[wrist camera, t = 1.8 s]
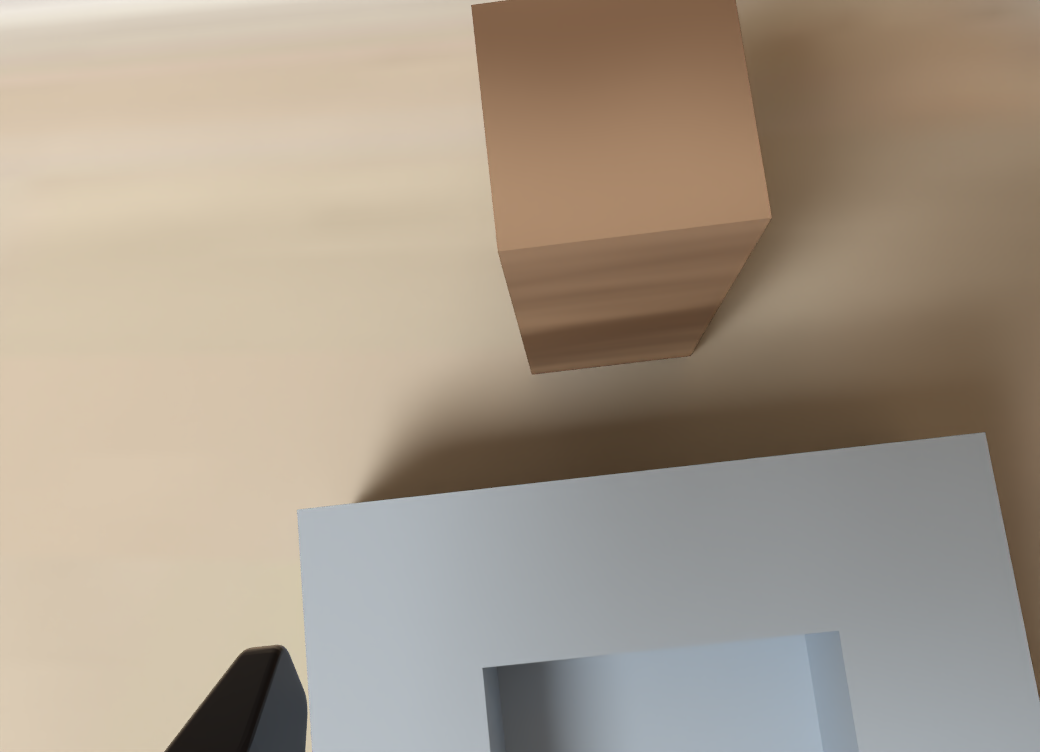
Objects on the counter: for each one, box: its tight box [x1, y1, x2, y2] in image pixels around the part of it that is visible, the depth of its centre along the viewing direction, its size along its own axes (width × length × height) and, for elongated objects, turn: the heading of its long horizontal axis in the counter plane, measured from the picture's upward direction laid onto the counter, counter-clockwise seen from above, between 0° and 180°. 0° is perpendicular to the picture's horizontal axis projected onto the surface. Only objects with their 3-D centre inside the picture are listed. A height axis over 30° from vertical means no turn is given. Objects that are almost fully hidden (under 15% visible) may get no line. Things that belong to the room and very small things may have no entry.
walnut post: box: [471, 0, 772, 374], centre depth 19 cm, size 4×4×10 cm
